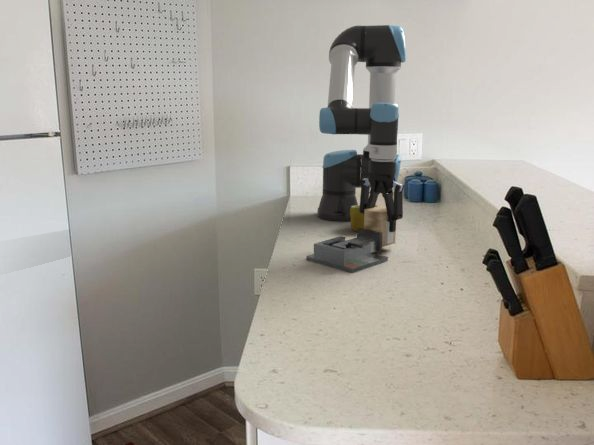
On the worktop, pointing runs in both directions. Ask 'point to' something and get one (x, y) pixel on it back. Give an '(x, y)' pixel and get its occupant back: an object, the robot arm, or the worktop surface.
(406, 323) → the worktop surface
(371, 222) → the block
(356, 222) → the mug
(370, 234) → the grey blocky piece
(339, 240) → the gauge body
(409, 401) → the worktop surface
